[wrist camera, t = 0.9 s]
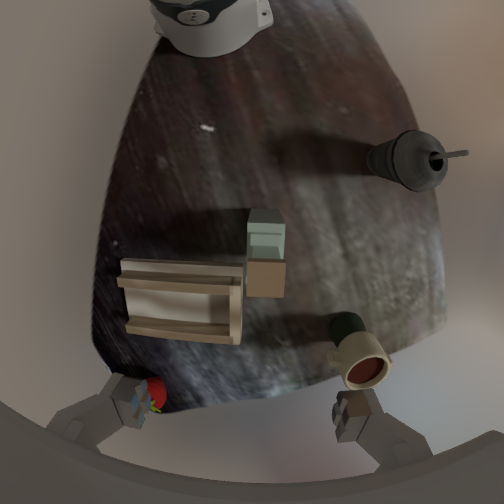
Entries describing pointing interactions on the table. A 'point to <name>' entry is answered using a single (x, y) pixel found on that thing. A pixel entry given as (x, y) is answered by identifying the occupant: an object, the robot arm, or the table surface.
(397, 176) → the beverage cup
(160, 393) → the strawberry
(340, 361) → the character mug
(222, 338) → the u rest
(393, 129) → the table surface
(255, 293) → the pale green flat bottle
